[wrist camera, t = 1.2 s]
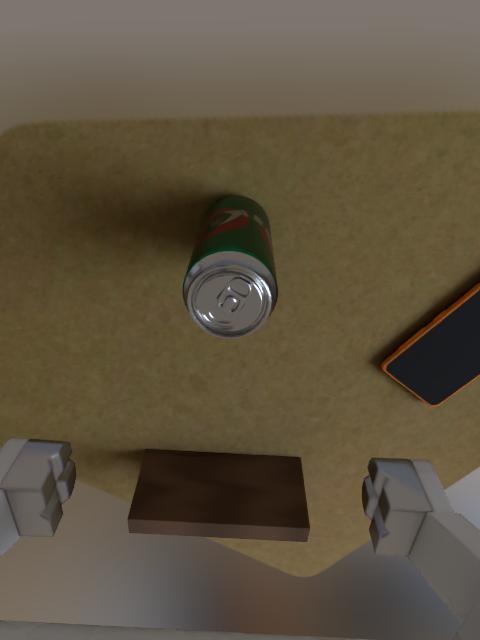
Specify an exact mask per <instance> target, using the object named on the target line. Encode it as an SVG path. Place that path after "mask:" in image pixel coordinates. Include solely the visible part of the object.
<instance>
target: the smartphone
mask: <svg viewBox="0 0 480 640" xmlns="http://www.w3.org/2000/svg"><path fill="white" fill-rule="evenodd" d="M381 368H382V370H383V371H384V372H385V373H387V374H388V375H389V376H391V377H392V378H393V379H395V380H396V381H397V382H398V383H400V384H401V385H402V386H404V387H405V388H406V389H408V390H409V391H410V392H412V393H413V394H414V395H416V396H417V397H418V398H419V399H421V400H422V401H423V402H425V403H426V404H427V405H429V406H431V407H436V406H438V405H440V404H441V403H442V402H444V401H445V400H447V399H448V398H449V397H451V396H452V395H454V394H455V393H456V392H458V391H459V390H460V389H462V388H463V387H465V386H466V385H467V384H469V383H470V382H472V381H473V380H474V379H476V378H477V377H479V376H480V282H479V283H478V284H477V285H476V286H474V287H473V288H472V289H471V290H470V291H468V292H467V293H466V294H465V295H463V296H462V297H461V298H460V299H459V300H457V301H456V302H455V303H454V304H452V305H451V306H450V307H449V308H448V309H446V310H444V311H442V312H441V313H440V314H439V315H438V316H436V317H435V318H434V319H433V321H432V322H431V323H429V324H428V325H427V326H426V327H423V328H422V329H421V330H419V331H418V332H417V333H416V334H414V335H413V336H412V337H411V338H410V339H408V340H407V341H406V342H405V343H404V344H402V345H401V346H400V347H399V349H398V350H396V351H395V352H394V353H393V354H392V355H390V356H389V357H388V358H387V359H386V360H384V361H383V363H382V365H381Z"/></svg>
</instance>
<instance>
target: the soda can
mask: <svg viewBox="0 0 480 640" xmlns="http://www.w3.org/2000/svg"><path fill="white" fill-rule="evenodd" d="M277 297H278V287H277V279H276V271H275V263H274V255H273V247H272V239H271V231H270V224H269V220H268V217H267V215H266V213H265V211H264V210H263V208H262V207H261V206H260V205H259V204H258V203H256V202H255V201H253V200H251V199H249V198H247V197H243V196H227V197H224V198H221V199H219V200H217V201H216V202H214V203H213V204H212V205H211V206H210V207H209V208H208V210H207V211H206V213H205V215H204V217H203V220H202V223H201V226H200V230H199V233H198V236H197V239H196V243H195V246H194V249H193V252H192V256H191V259H190V262H189V265H188V269H187V272H186V275H185V279H184V282H183V298H184V302H185V305H186V307H187V309H188V311H189V312H190V314H191V317H192V318H193V320H194V321H195V323H196V324H197V325H198V326H199V327H200V328H202V329H203V330H204V331H206V332H207V333H209V334H211V335H214V336H217V337H221V338H240V337H244V336H247V335H249V334H251V333H253V332H255V331H256V330H257V329H259V328H260V327H261V326H262V325H263V324H264V322H265V321H266V320H267V318H268V317H269V316H270V315H271V313H272V312H273V310H274V308H275V305H276V302H277Z"/></svg>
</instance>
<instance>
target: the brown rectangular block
mask: <svg viewBox="0 0 480 640" xmlns="http://www.w3.org/2000/svg"><path fill="white" fill-rule="evenodd" d="M128 527H129V533H142V534H162V535H180V536H200V537H219V538H238V539H257V540H277V541H296V542H307V540H308V535H309V531H310V524H309V517H308V509H307V502H306V494H305V486H304V479H303V471H302V464H301V458H298V457H280V456H262V455H243V454H225V453H207V452H188V451H170V450H152V449H146V452H145V456H144V460H143V463H142V467H141V471H140V474H139V478H138V482H137V486H136V489H135V493H134V497H133V501H132V504H131V508H130V512H129V516H128Z"/></svg>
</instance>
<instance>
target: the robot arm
mask: <svg viewBox="0 0 480 640" xmlns="http://www.w3.org/2000/svg"><path fill="white" fill-rule="evenodd" d="M71 453H72V449H71V445H70V442H65V441H53V440H40V439H24V438H11V439H10V440H8V441H7V442H6V443H5V445H4V446H3V448H2V449H1V451H0V556H1V555H2V554H3V553H4V552H5V551H7V550H8V549H9V548H10V547H11V546H12V545H13V544H14V543H15V542H16V541H17V540H18V539H19V538H20V537H19V536H35V537H53V536H54V534H55V531H56V529H57V527H58V524H59V522H60V520H61V518H62V515H63V511H62V507H61V505H62V504H63V503H65V502H66V501H67V500H68V499H69V498H70V496H71V494H72V491H73V489H74V484H75V479H76V468H75V463H74V462H73V461H72V460H71V459H70V458H69V457H70V455H71ZM368 470H369V474H370V475H368V476H367V477H366V478H364V482H363V486H362V502H363V508H364V512H365V515H366V516H367V517H368V518H369V519H370V520H371V521H372V522H371V525H370V528H369V532H370V536H371V540H372V543H373V547H374V551H375V554H381V555H394V556H406V557H408V559H409V560H410V562H411V563H412V564H413V565H414V566H415V568H416V569H417V570H418V571H419V573H420V574H421V575H422V576H423V578H424V579H425V580H426V581H427V583H428V584H429V585H430V586H431V587H432V589H433V590H434V591H435V592H436V594H437V595H438V596H439V597H440V598H441V600H442V601H443V602H444V603H445V604H446V606H447V607H448V608H449V609H450V611H451V612H452V613H453V614H454V616H455V617H456V618H457V619H458V621H459V622H460V623H461V624H462V625H461V627H460V628H459V630H458V632H457V633H456V635H455V637H454V638H453V640H480V530H478V529H477V528H476V527H475V526H474V525H473V524H472V523H470V522H469V521H468V520H467V519H466V518H465V517H463V516H462V515H461V514H456V513H454V511H453V509H452V507H451V505H450V503H449V500H448V498H447V496H446V494H445V492H444V489H443V487H442V485H441V483H440V481H439V479H438V477H437V474H436V472H435V470H434V468H433V466H432V464H431V463H430V462H429V461H428V460H414V459H409V460H408V459H395V458H371V460H370V461H369V464H368ZM0 640H368V639H350V638H331V637H312V636H293V635H274V634H254V633H236V632H216V631H196V630H178V629H157V628H156V629H155V628H137V627H119V626H100V625H99V626H98V625H79V624H61V623H42V622H22V621H2V620H0Z"/></svg>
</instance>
